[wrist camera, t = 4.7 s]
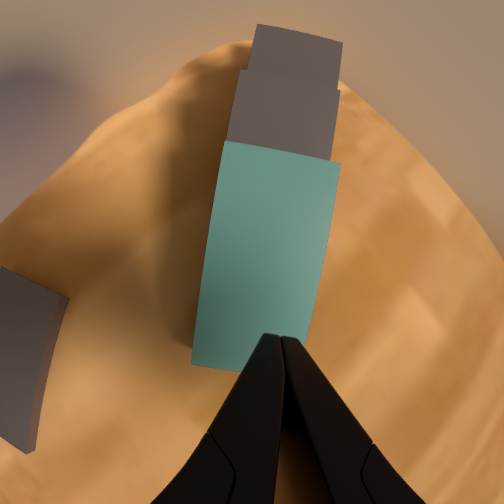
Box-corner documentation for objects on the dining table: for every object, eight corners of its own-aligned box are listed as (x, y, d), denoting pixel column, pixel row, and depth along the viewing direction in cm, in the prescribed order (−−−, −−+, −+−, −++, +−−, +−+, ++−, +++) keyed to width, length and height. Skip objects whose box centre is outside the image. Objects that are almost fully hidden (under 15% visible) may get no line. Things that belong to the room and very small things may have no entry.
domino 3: (304, 286, 15) (340, 90, 13) (204, 270, 15) (240, 68, 13) (299, 276, 17) (331, 98, 15) (207, 262, 17) (240, 79, 15)
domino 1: (38, 448, 12) (26, 454, 11) (-17, 410, 12) (-30, 412, 11) (72, 300, 16) (60, 295, 14) (14, 272, 15) (1, 266, 14)
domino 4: (296, 377, 14) (340, 163, 13) (190, 364, 14) (224, 140, 12) (290, 362, 16) (330, 167, 14) (194, 349, 15) (226, 148, 14)
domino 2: (317, 207, 16) (342, 42, 14) (223, 190, 16) (257, 23, 14) (311, 205, 18) (335, 52, 16) (225, 189, 18) (256, 35, 16)
